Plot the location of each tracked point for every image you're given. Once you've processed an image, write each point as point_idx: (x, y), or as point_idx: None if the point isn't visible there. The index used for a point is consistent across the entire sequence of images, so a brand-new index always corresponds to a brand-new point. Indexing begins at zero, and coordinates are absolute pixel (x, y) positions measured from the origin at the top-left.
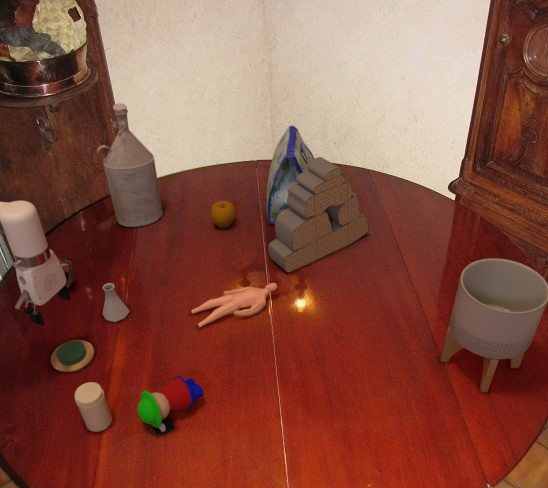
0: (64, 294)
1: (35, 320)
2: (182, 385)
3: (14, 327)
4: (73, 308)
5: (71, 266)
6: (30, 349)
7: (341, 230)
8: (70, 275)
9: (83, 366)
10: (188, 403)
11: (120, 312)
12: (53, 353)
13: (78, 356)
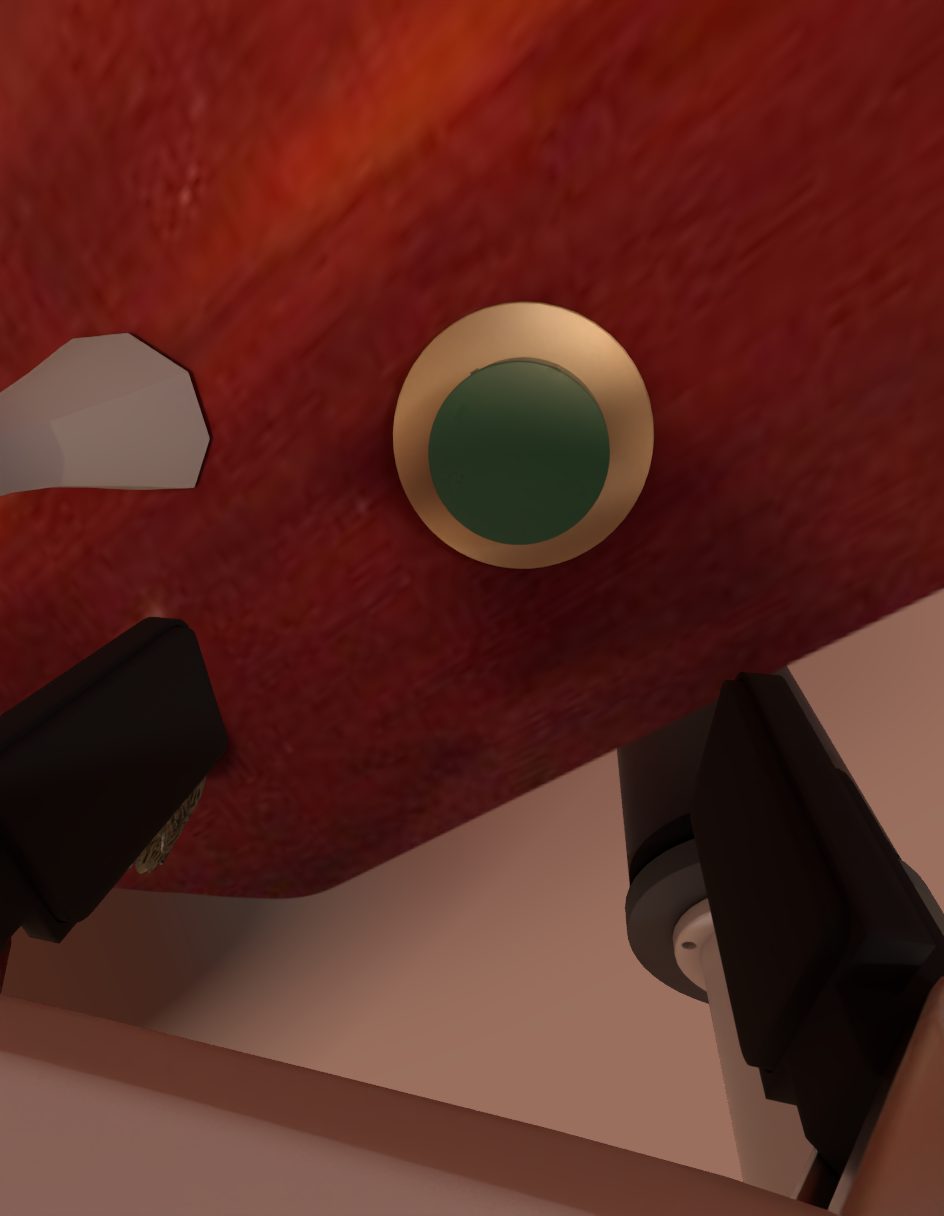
0: (125, 725)
1: (877, 840)
2: None
3: (465, 794)
4: (255, 645)
5: None
6: (552, 679)
7: None
8: None
9: (578, 314)
10: None
11: (104, 358)
12: (545, 562)
13: (545, 371)
